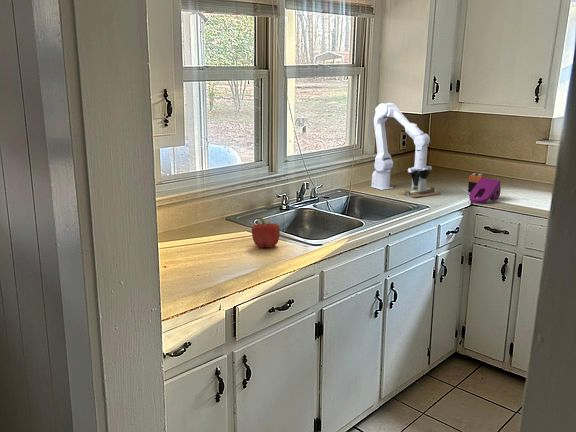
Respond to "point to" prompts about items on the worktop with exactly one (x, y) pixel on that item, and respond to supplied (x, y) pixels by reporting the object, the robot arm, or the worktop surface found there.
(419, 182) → the block
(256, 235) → the vegetable
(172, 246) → the worktop surface
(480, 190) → the mounting bracket
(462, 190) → the worktop surface
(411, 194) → the rail mount
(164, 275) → the worktop surface
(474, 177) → the battery
